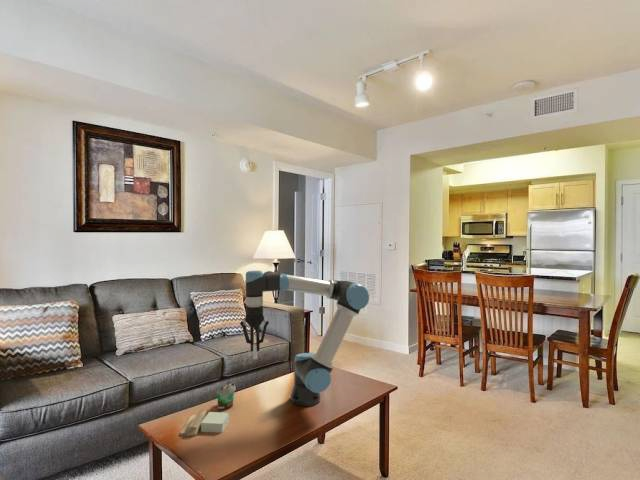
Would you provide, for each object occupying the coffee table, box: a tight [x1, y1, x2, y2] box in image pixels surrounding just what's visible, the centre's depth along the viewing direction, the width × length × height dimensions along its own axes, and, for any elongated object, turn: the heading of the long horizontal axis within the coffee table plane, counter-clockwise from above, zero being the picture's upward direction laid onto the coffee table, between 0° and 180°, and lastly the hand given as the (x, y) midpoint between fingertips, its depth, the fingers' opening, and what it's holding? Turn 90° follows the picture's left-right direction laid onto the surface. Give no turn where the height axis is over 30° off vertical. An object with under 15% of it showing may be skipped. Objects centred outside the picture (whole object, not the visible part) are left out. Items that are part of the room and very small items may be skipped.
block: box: [200, 411, 230, 433], centre depth 164 cm, size 9×10×4 cm
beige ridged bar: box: [179, 408, 208, 437], centre depth 164 cm, size 6×16×4 cm, turn 2°
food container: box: [216, 380, 237, 411], centre depth 183 cm, size 12×6×10 cm, turn 168°
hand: (255, 358), depth 170 cm, fingers closed
